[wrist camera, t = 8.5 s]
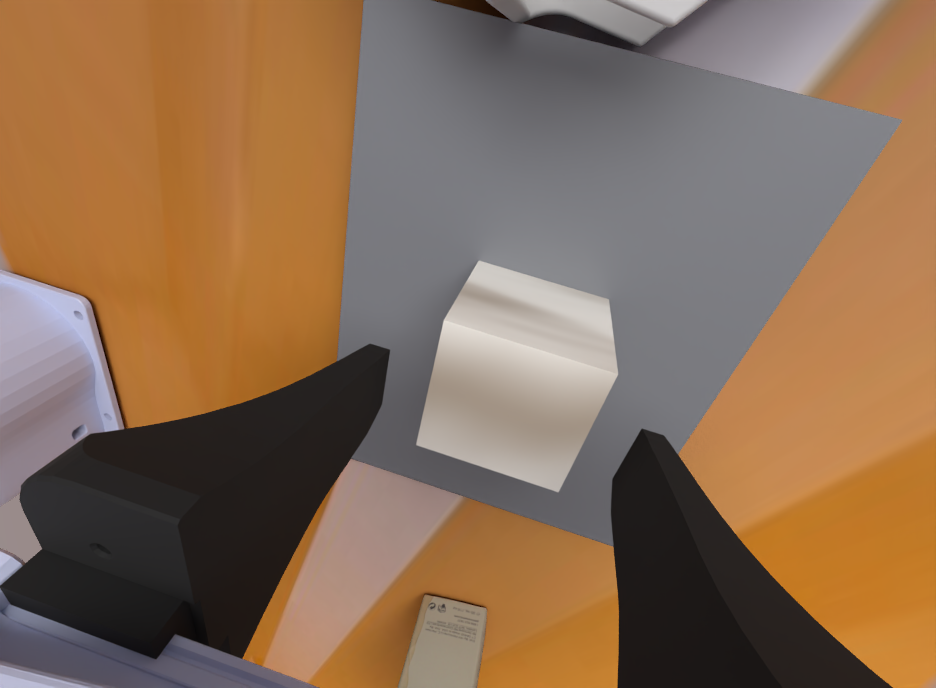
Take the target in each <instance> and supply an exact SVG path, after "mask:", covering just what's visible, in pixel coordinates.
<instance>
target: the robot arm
mask: <svg viewBox="0 0 936 688" xmlns="http://www.w3.org/2000/svg"><path fill="white" fill-rule="evenodd" d="M389 355H390V349H386V348H383V347H380V346H377V345H374V344H368V345H366V346H364V347H362V348H360V349H359V350H357V351H355V352H353V353H351V354H350V355H348V356H346V357H344V358H342V359H340V360H339V361H337V362H335V363H333V364H331V365H329V366H327V367H326V368H324V369H322V370H320V371H318V372H316V373H314V374H312V375H310V376H308V377H306V378H304V379H301V380H299V381H297V382H295V383H293V384H291V385H288V386H286V387H284V388H282V389H279V390H277V391H274V392H272V393H269V394H266V395H263V396H261V397H258V398H255V399H252V400H249V401H246V402H243V403H240V404H237V405H233V406H230V407H226V408H223V409H219V410H216V411H212V412H209V413H205V414H201V415H197V416H193V417H188V418H184V419H179V420H174V421H169V422H164V423H159V424H154V425H148V426H142V427H135V428H128V429H124V425H123V421H122V418H121V414H120V410H119V406H118V403H117V399H116V395H115V392H114V388H113V384H112V380H111V377H110V373H109V369H108V366H107V362H106V358H105V354H104V351H103V347H102V343H101V339H100V336H99V332H98V328H97V325H96V321H95V317H94V313H93V310H92V306H91V304H90V302H89V301H88V300H87V299H86V298H85V297H83V296H81V295H78V294H75V293H72V292H69V291H66V290H63V289H59V288H56V287H53V286H50V285H47V284H44V283H41V282H38V281H35V280H32V279H28V278H25V277H22V276H19V275H16V274H13V273H10V272H7V271H4V270H1V269H0V506H2V505H4V504H5V503H7V502H8V501H10V500H11V499H13V498H14V497H15V496H17V495H18V494H19V493H20V502H21V505H22V508H23V511H24V513H25V515H26V517H27V519H28V521H29V523H30V525H31V527H32V529H33V531H34V533H35V535H36V537H37V539H38V541H39V543H40V545H41V547H42V550H41V551H39V552H38V553H37V554H36V555H35V556H34V557H33V558H31V559H30V560H29V561H28V562H27V563H26V564H25V562H24V561H23V560H21V559H20V558H19V557H17V556H16V555H14V554H12V553H10V552H8V551H6V550H3V549H1V548H0V688H319V687H316V686H313V685H311V684H308V683H305V682H303V681H300V680H297V679H295V678H292V677H289V676H286V675H284V674H281V673H278V672H276V671H273V670H270V669H268V668H265V667H262V666H260V665H257V664H254V663H252V662H249V661H246V660H243V659H242V658H243V656H244V654H245V652H246V650H247V648H248V645H249V643H250V641H251V639H252V637H253V635H254V633H255V631H256V629H257V626H258V624H259V622H260V620H261V618H262V616H263V614H264V612H265V610H266V608H267V606H268V604H269V602H270V600H271V598H272V596H273V594H274V592H275V590H276V588H277V586H278V584H279V582H280V580H281V578H282V576H283V574H284V572H285V570H286V568H287V566H288V564H289V562H290V560H291V558H292V556H293V554H294V552H295V550H296V548H297V547H298V545H299V543H300V541H301V539H302V537H303V535H304V533H305V531H306V530H307V528H308V526H309V524H310V522H311V520H312V518H313V517H314V515H315V513H316V511H317V509H318V508H319V506H320V504H321V503H322V501H323V499H324V498H325V496H326V495H327V493H328V492H329V490H330V489H331V487H332V486H333V484H334V483H335V481H336V480H337V478H338V477H339V475H340V474H341V472H342V471H343V469H344V468H345V467H346V465H347V464H348V462H349V461H350V459H351V458H352V456H353V455H354V453H355V452H356V450H357V449H358V447H359V446H360V444H361V443H362V441H363V440H364V438H365V437H366V435H367V434H368V432H369V430H370V428H371V426H372V424H373V422H374V420H375V418H376V416H377V414H378V412H379V410H380V408H381V406H382V402H383V395H384V388H385V382H386V375H387V369H388V362H389ZM104 431H105V432H104ZM611 523H612V535H613V546H614V556H615V566H616V577H617V587H618V601H619V659H618V688H893V687H891V686H890V685H889V684H888V683H886V682H885V681H884V680H883V679H881V678H880V677H879V676H878V675H876V674H875V673H874V672H873V671H872V670H871V669H869V668H868V667H867V666H866V665H865V664H864V663H862V662H861V661H860V660H859V659H858V658H857V657H856V656H855V655H853V654H852V653H851V652H850V651H849V650H848V649H847V648H845V647H844V646H843V645H842V644H841V643H840V642H839V641H838V640H836V639H835V638H834V637H833V636H832V635H831V634H830V633H829V632H828V631H827V630H826V629H825V628H823V627H822V626H821V625H820V624H819V623H818V622H817V621H816V620H815V619H814V618H813V617H812V616H811V615H810V614H809V613H808V612H807V611H806V610H805V609H804V608H803V607H802V606H801V605H800V604H799V603H798V602H797V601H796V600H795V599H794V598H793V597H792V596H791V595H790V594H789V593H788V592H787V591H786V590H785V589H784V588H783V587H782V586H781V585H780V584H779V583H778V582H777V581H776V580H775V579H774V578H773V577H772V576H771V575H770V573H769V572H768V571H767V570H766V569H765V568H764V567H763V566H762V565H761V563H760V562H759V561H758V560H757V559H756V558H755V557H754V556H753V554H752V553H751V552H750V551H749V550H748V549H747V548H746V546H745V545H744V544H743V543H742V542H741V540H740V539H739V538H738V537H737V535H736V534H735V533H734V532H733V530H732V529H731V528H730V527H729V525H728V524H727V523H726V521H725V520H724V519H723V518H722V516H721V515H720V514H719V512H718V511H717V510H716V508H715V507H714V506H713V504H712V503H711V502H710V500H709V499H708V497H707V496H706V495H705V493H704V492H703V490H702V489H701V488H700V486H699V485H698V483H697V482H696V480H695V479H694V477H693V476H692V475H691V473H690V472H689V470H688V469H687V467H686V466H685V464H684V463H683V461H682V460H681V458H680V457H679V456H678V454H677V453H676V451H675V450H674V448H673V447H672V445H671V444H670V443H669V441H668V440H667V439H666V437H665V436H664V435H661V434H658V433H655V432H652V431H649V430H645V429H641V431H640V432H639V434H638V436H637V437H636V439H635V441H634V443H633V444H632V446H631V448H630V449H629V451H628V453H627V455H626V456H625V458H624V460H623V461H622V463H621V465H620V467H619V468H618V470H617V472H616V473H615V475H614V477H613V479H612V493H611Z"/></svg>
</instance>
